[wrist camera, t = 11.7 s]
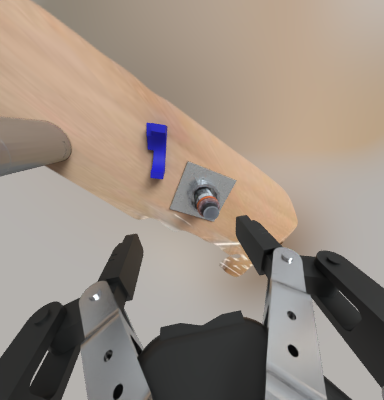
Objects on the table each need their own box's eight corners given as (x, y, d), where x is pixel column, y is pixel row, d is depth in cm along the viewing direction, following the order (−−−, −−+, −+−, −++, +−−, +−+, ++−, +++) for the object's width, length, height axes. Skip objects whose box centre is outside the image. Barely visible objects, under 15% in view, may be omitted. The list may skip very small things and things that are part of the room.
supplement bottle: (213, 201, 44) (224, 221, 34) (195, 205, 44) (200, 226, 34) (211, 184, 42) (222, 200, 32) (192, 188, 42) (197, 205, 31)
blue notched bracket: (148, 123, 34) (143, 121, 29) (167, 126, 35) (165, 125, 29) (148, 171, 39) (144, 177, 34) (164, 172, 40) (162, 179, 34)
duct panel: (170, 207, 45) (169, 213, 41) (187, 160, 39) (189, 163, 35) (213, 220, 49) (215, 226, 45) (235, 179, 43) (240, 183, 39)
